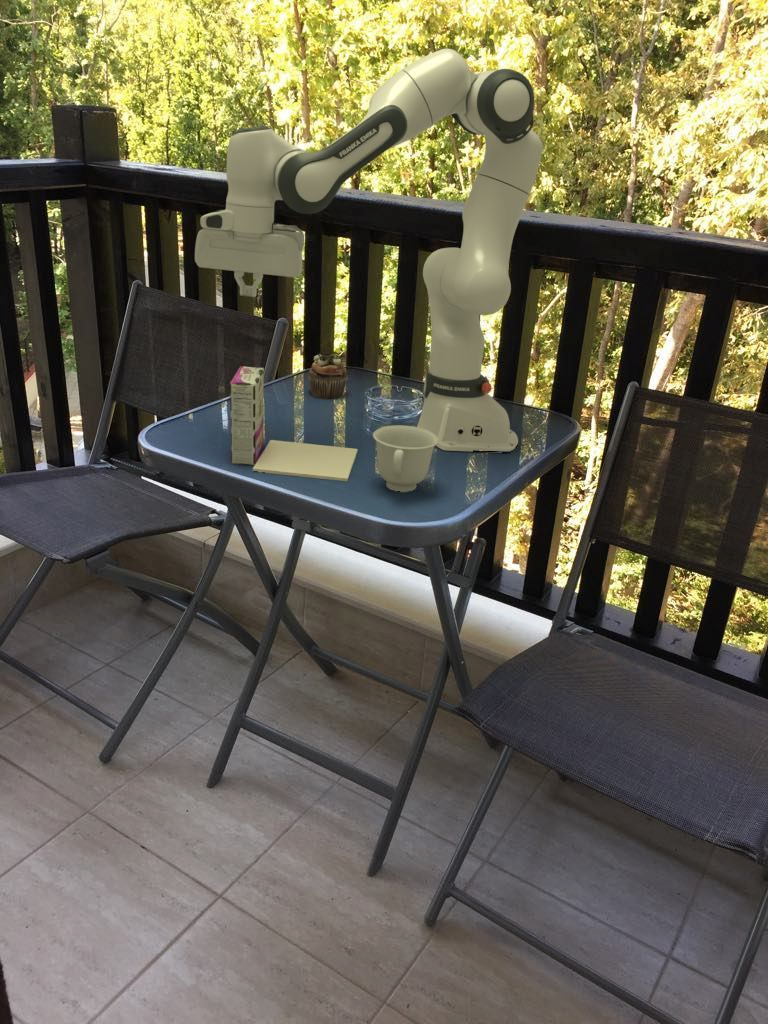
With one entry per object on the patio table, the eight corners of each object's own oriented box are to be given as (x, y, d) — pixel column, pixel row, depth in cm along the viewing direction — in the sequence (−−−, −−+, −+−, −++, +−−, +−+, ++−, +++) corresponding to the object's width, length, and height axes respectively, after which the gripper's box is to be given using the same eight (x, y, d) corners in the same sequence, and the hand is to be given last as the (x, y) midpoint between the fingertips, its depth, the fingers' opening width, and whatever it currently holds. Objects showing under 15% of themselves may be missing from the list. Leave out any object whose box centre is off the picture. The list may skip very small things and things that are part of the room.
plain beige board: (357, 451, 176) (357, 448, 176) (347, 481, 161) (347, 478, 161) (270, 442, 177) (270, 439, 176) (252, 471, 162) (252, 468, 162)
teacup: (360, 500, 154) (363, 447, 150) (375, 470, 167) (379, 421, 163) (426, 509, 152) (432, 457, 148) (437, 479, 166) (442, 429, 162)
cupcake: (353, 398, 208) (355, 358, 204) (315, 401, 204) (317, 360, 200) (337, 387, 216) (339, 347, 212) (301, 389, 212) (302, 349, 208)
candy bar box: (239, 444, 175) (239, 365, 168) (263, 446, 175) (265, 367, 168) (229, 464, 165) (229, 381, 158) (255, 466, 165) (256, 383, 158)
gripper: (308, 224, 163) (304, 298, 168) (201, 213, 164) (201, 287, 169) (301, 228, 157) (298, 304, 163) (191, 216, 158) (192, 293, 164)
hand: (248, 295), depth 166 cm, fingers closed
